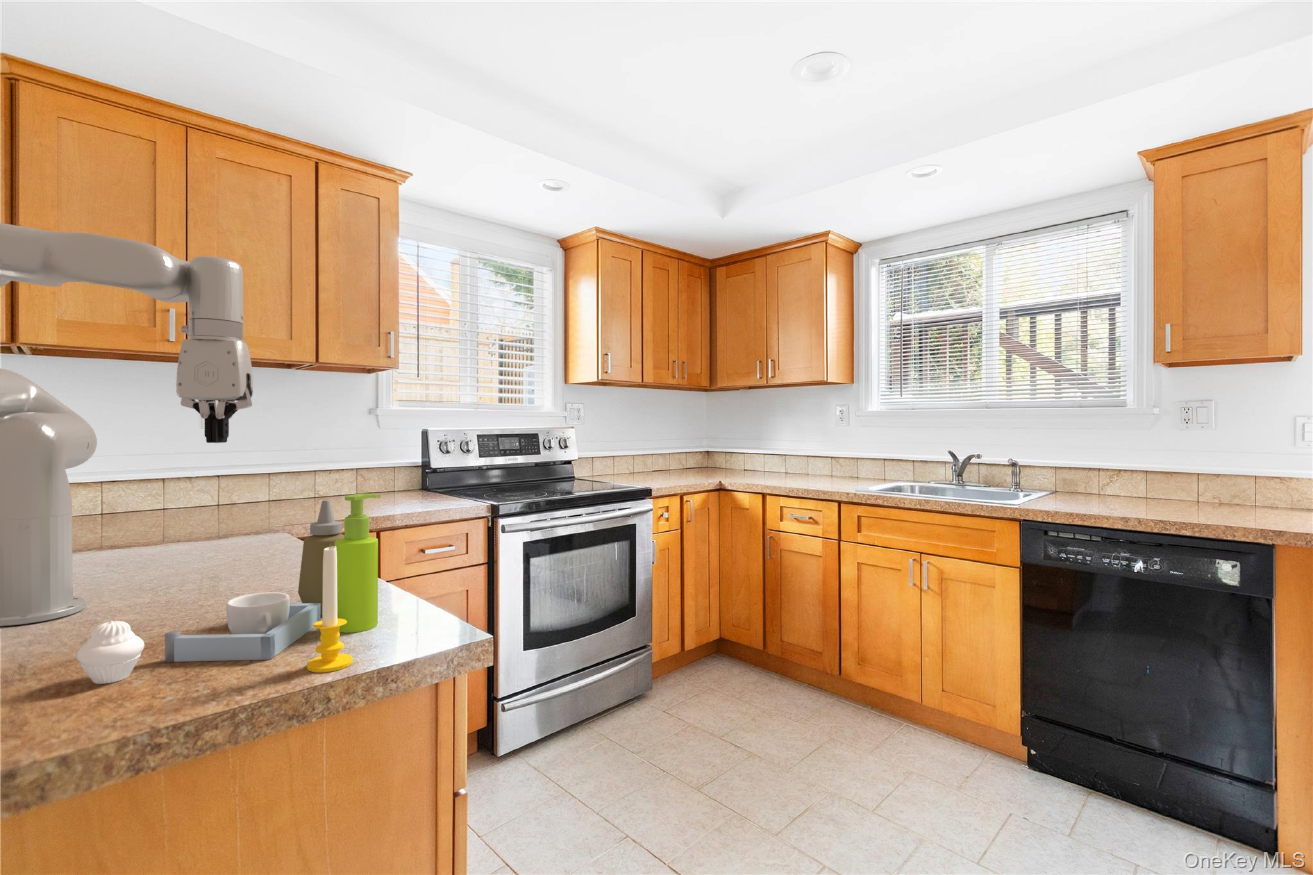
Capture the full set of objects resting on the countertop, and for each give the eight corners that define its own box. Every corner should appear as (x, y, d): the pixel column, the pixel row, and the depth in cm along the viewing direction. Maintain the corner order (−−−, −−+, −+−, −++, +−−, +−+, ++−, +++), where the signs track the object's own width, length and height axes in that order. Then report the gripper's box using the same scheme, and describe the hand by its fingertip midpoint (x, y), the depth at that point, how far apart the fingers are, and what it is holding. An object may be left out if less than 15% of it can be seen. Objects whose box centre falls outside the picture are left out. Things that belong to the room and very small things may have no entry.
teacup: (221, 635, 92) (221, 598, 92) (281, 624, 98) (281, 589, 97) (236, 654, 85) (236, 613, 85) (300, 641, 90) (300, 603, 90)
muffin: (125, 687, 74) (125, 627, 74) (63, 691, 73) (62, 630, 73) (155, 667, 80) (155, 611, 80) (98, 670, 79) (98, 614, 79)
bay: (162, 662, 82) (162, 635, 82) (231, 623, 97) (231, 600, 97) (269, 660, 83) (269, 633, 83) (321, 622, 99) (321, 599, 99)
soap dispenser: (391, 621, 100) (391, 492, 99) (356, 634, 93) (357, 497, 93) (361, 616, 102) (361, 491, 101) (325, 629, 95) (325, 495, 95)
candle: (323, 675, 78) (323, 549, 78) (297, 667, 81) (297, 544, 80) (361, 662, 83) (361, 542, 82) (336, 654, 85) (336, 538, 85)
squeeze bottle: (363, 604, 108) (363, 498, 108) (334, 619, 100) (334, 504, 100) (318, 602, 109) (318, 497, 109) (286, 617, 101) (286, 503, 101)
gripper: (153, 328, 103) (154, 442, 104) (251, 331, 105) (251, 443, 105) (183, 335, 111) (183, 441, 111) (274, 337, 112) (274, 442, 112)
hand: (216, 442), depth 108 cm, fingers closed
